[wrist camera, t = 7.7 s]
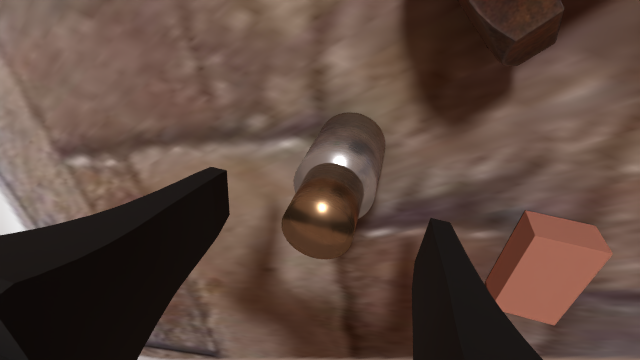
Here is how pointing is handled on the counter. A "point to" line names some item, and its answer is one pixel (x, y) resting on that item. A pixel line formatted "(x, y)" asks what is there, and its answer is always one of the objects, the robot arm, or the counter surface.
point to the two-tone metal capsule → (334, 186)
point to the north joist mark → (546, 266)
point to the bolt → (515, 26)
